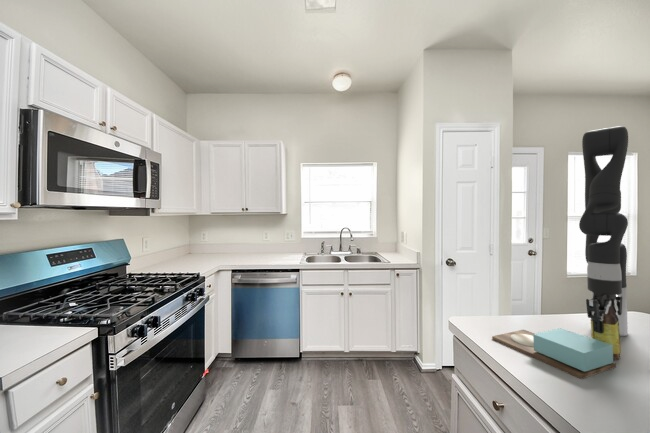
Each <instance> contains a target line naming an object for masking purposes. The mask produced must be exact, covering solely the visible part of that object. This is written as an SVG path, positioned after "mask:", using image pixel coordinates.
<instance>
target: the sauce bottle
mask: <svg viewBox="0 0 650 433" xmlns="http://www.w3.org/2000/svg"><path fill="white" fill-rule="evenodd" d="M611 297H612V295H608V294H607V299H608V300H611ZM599 310H601V309H599ZM601 311H602V310H601ZM592 312H593V311H591V313H592ZM599 314H601V313H599ZM603 321H604V333H598V332H595V331H594V330H593V319H592V318H590V330H591V331H590V332H591V338H593V339H596V340H599V341H602V342H605V343H608V344H611V345H613V360H620V359H621V353H622V350H621V336H620V332H619V319H618V317H617V315H616V313H615V311H614V309H613V307H612V302H611V306H610V307H609V310H608V313H607V315H605V316H604V320H603Z"/></svg>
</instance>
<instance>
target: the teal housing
mask: <svg viewBox="0 0 650 433" xmlns="http://www.w3.org/2000/svg"><path fill="white" fill-rule="evenodd" d="M533 339H534V351H537V352H539V353H541V354H544V355H546V356H548V357H551V358H553V359H556V360H558V361H560V362H563V363H565V364H567V365H570V366H572V367H574V368H577V369H579V370H581V371H584V372H586V371H589V370H592V369H595V368H598V367H601V366H604V365H607V364H611V363H614V359H613V345H611V344H608V343H605V342H602V341H599V340H596V339H593V338H592V337H589V336H586V335H583V334H579V333H576V332H574V331H570V330H568V329H565V328H562V327H561V328H560V327H559V328H555V329H550V330H546V331H542V332H538V333H534V334H533Z"/></svg>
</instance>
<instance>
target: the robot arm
mask: <svg viewBox="0 0 650 433" xmlns="http://www.w3.org/2000/svg"><path fill="white" fill-rule="evenodd" d="M581 145H582V155H583V157H582V158H583V165H584V166H583V167H584V178H585V179H584V180H585V181H584V187H585V188H584V207H585V208H584V212H583V214H582V216H581V218H580V219H579V224H578V225H579V230H580V231H581V232H582V233H583V234H584V235H585V247H584V248H585V251H584V253H585V255H584V256H585V261H586V264H587V267H586V268H587V269H586V273H587V274H586V275H587V277H586V280H587V290H588V291H590V292H591V298H586V300H585V301H586V302H585V303H586V313H587V314H586V315H587V318H589V319H591V318H592V319H593V330H594V331H595V332H598V333H604V321H603V320H604V316H605V315H607V313H608V310H609V307H610V306H611V302H612V307H613V309H614V311H615V313H616V315H617V317H618V319H619V332H620V337H624V336H625V337H626V336H629V333H628V332H629V330H628V327H629V326H628V324H629V323H628V292H627V291H628V289H627V288H628V287H627V285H628V284H627V261H628V259H627V257H628V251H627V247H626V245H625V244H624V243H622V242H623V238H624V236H625V234H626V231H627V229H628V225H629V222H628V218H627V217H626V215H624V214H623V213H620V211H621V209H622V191H621V181H622V177H623V176H622V175H623V171H624V167H625V164H626V159H627V153H628V147H629V131H628V128H626V127H625V126H623V125H618V126H613V127H612V126H611V127H605V128H600V129H594V130H588V131H586V132H585V133H584V134H582V141H581ZM610 155H612V157H611V158H610V160H609V162H608V163H607V164H606V165H605V166H604V167H603V168H601V167H600V165H599V164H598V161H597V158H596V157H601V156H610ZM600 236H608V237H609V236H610V238H609V239H608V240H607V241H602V242H599V241H598V239H599V237H600ZM607 294H608V295H612V297H611V300H608V299H607ZM599 309H601V310H602V311H601V310H599ZM591 311H593V312H592V313H591ZM599 313H601V314H599Z"/></svg>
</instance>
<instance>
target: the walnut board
mask: <svg viewBox="0 0 650 433" xmlns="http://www.w3.org/2000/svg"><path fill="white" fill-rule="evenodd" d="M533 334H535V333H534V332H531V331H528V330H526V329H520V330H515V331H512V332H506V333H501V334H497V335H496V334H495V335H492V337H491V339H492V340H493V341H496V342H498V343H500V344H502V345H504V346H506V347H508V348H511V349H513V350H516V351H518V352H520V353H523V354H525V355H527V356H529V357H531V358H534V359H536V360H537V361H540V362H542V363H545V364H547V365H549V366H551V367H554V368H556V369H557V370H561V371H562V372H565V373H567V374H569V375H572V376H573V377H576V378H578V379H584V378H585V379H586V378H587V377H591V376H593V375H596V374H599V373H603V372H605V371H608V370H611V369H614V368H617V363H615V362H613V363H611V364H607V365H604V366H601V367H598V368H595V369H592V370H589V371H586V372H584V371H581V370H579V369H577V368H574V367H572V366H570V365H567V364H565V363H563V362H560V361H558V360H556V359H553V358H551V357H548V356H546V355H544V354H541V353H539V352H537V351H534V339H533Z"/></svg>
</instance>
